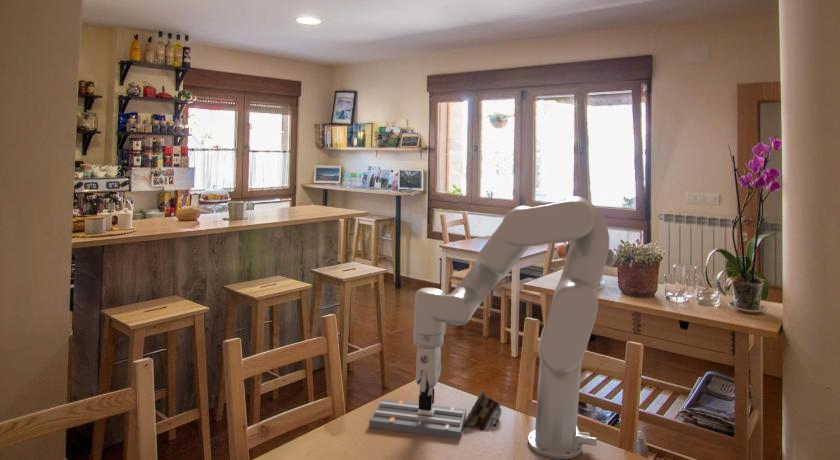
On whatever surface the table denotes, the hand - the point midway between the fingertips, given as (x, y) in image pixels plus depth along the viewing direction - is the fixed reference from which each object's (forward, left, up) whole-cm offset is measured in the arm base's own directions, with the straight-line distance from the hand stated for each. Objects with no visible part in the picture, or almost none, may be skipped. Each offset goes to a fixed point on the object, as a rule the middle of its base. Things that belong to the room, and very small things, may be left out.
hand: (426, 405), depth 138 cm
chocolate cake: (-15, -4, -5) cm, 16 cm away
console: (+2, 0, -5) cm, 5 cm away
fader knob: (0, 0, -2) cm, 2 cm away
